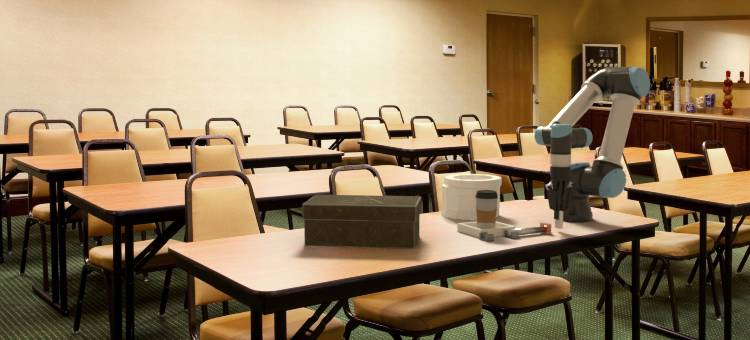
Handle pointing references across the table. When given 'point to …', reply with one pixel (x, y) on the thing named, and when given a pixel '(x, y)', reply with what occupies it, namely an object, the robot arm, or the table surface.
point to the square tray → (473, 230)
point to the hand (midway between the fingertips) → (558, 227)
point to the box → (362, 221)
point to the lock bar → (532, 230)
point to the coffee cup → (486, 208)
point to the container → (466, 194)
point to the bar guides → (490, 237)
